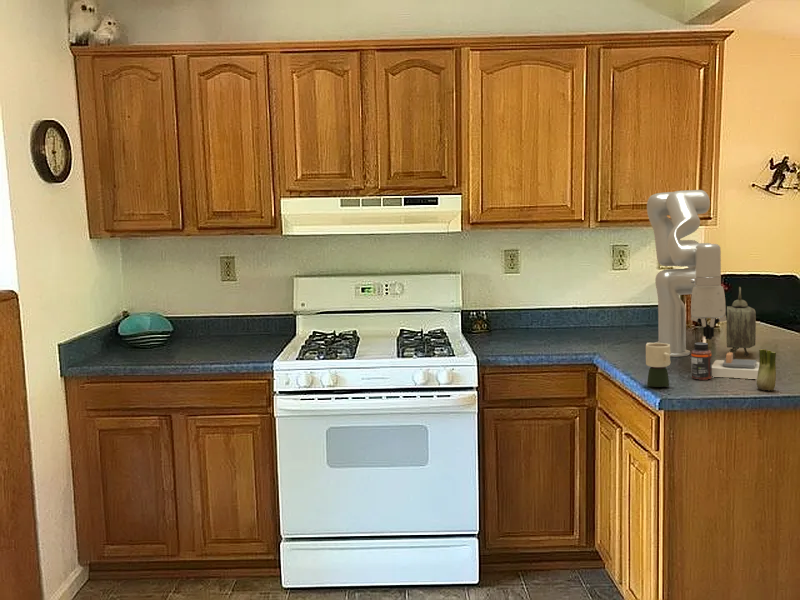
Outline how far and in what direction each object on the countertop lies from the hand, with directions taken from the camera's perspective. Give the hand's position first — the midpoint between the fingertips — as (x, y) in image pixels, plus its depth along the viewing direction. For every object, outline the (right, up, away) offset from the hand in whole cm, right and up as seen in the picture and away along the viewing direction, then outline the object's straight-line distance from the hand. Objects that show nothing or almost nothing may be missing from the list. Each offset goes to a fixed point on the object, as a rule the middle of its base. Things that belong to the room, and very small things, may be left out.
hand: (708, 338), depth 242 cm
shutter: (+9, -8, -3) cm, 12 cm away
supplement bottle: (-5, -13, -6) cm, 15 cm away
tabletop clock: (+23, -8, +27) cm, 36 cm away
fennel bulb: (+6, -14, -25) cm, 29 cm away
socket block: (+9, -11, -3) cm, 15 cm away
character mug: (-22, -14, -15) cm, 30 cm away
